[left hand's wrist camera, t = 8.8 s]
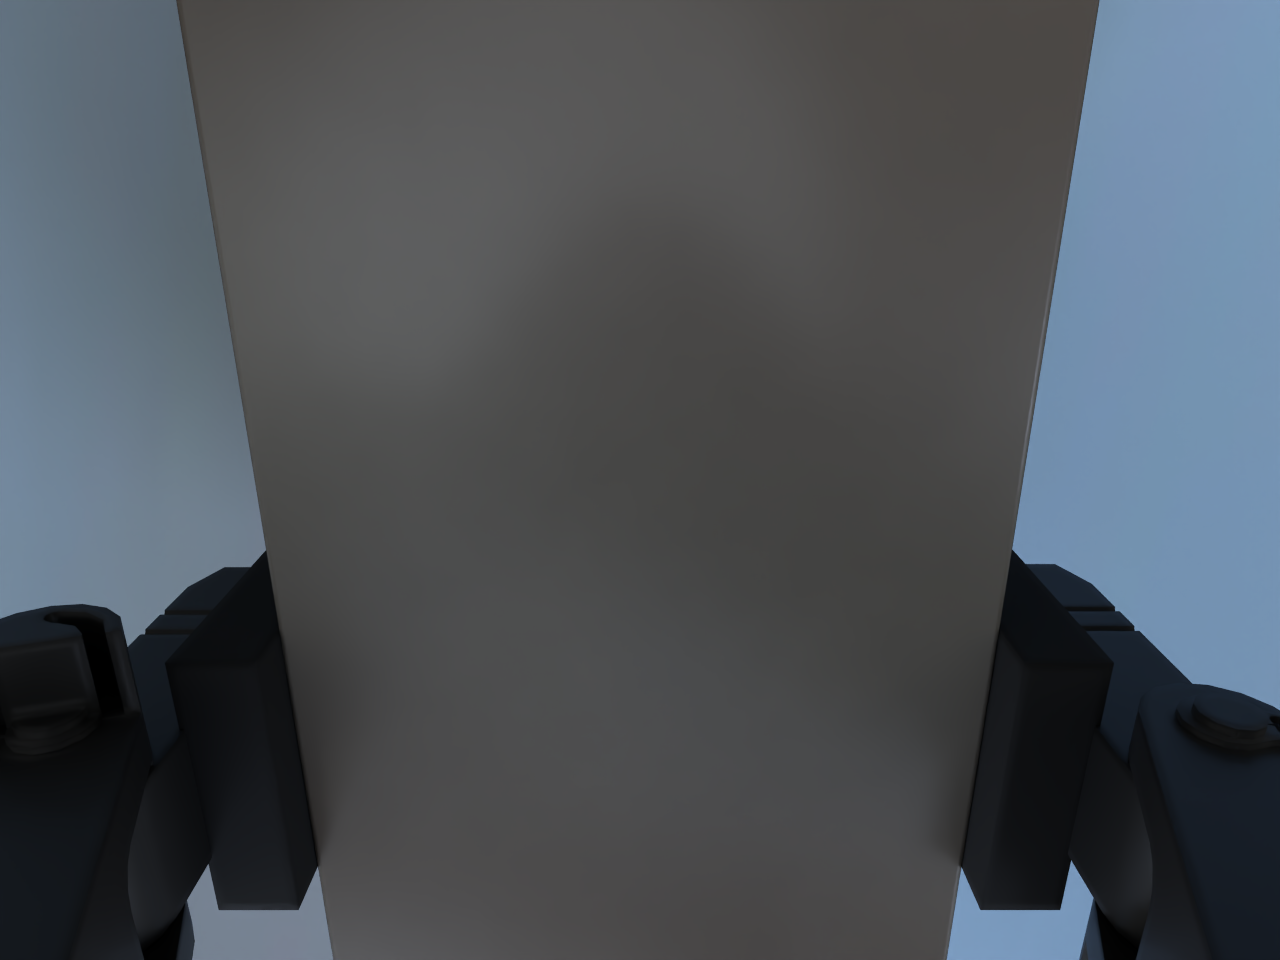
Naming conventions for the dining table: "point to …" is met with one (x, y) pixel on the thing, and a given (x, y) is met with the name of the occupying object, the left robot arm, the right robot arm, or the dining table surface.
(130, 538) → the dining table surface
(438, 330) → the grey rectangular box
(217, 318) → the dining table surface
